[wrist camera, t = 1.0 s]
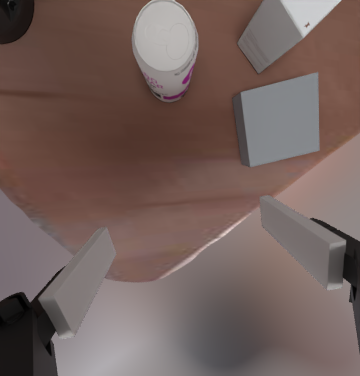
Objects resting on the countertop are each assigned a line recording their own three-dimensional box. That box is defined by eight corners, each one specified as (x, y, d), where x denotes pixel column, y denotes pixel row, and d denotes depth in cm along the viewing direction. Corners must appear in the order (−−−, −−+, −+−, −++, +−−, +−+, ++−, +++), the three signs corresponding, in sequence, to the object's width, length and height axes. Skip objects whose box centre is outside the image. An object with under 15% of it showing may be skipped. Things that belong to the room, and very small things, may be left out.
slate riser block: (231, 98, 36) (240, 92, 31) (298, 81, 35) (318, 72, 30) (241, 163, 39) (250, 167, 34) (301, 149, 39) (319, 150, 34)
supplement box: (288, 45, 33) (355, -10, 21) (257, 75, 34) (303, 39, 22) (266, 10, 31) (325, -72, 19) (235, 42, 33) (271, -16, 20)
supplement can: (194, 64, 33) (209, 7, 19) (182, 108, 35) (187, 86, 21) (154, 50, 32) (137, -23, 18) (144, 95, 35) (122, 64, 20)
